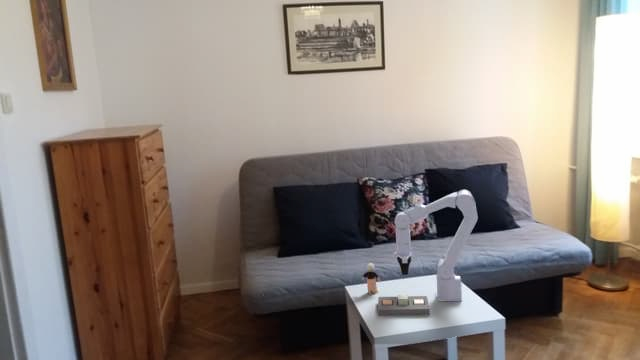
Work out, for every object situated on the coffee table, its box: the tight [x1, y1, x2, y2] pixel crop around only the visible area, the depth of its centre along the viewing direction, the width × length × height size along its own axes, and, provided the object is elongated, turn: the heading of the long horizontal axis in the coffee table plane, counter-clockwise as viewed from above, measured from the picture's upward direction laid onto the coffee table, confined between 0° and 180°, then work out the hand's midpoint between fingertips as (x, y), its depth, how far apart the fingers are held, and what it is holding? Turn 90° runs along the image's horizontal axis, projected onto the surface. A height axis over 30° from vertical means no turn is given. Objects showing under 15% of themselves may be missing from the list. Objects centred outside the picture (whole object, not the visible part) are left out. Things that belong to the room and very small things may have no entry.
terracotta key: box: [383, 300, 392, 305], centre depth 196 cm, size 4×4×3 cm
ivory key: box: [414, 299, 424, 305], centre depth 194 cm, size 4×4×3 cm
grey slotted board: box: [377, 295, 431, 317], centre depth 195 cm, size 19×12×2 cm, turn 83°
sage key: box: [397, 294, 409, 305], centre depth 195 cm, size 4×4×3 cm
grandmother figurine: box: [361, 262, 381, 295], centre depth 213 cm, size 8×4×13 cm, turn 84°
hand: (404, 274), depth 205 cm, fingers closed
